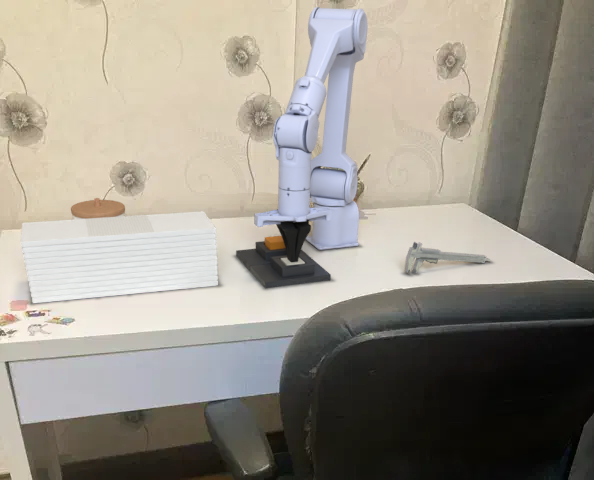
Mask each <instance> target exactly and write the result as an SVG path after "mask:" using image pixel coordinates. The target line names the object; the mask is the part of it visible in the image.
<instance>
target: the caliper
mask: <svg viewBox="0 0 594 480" xmlns="http://www.w3.org/2000/svg"><path fill="white" fill-rule="evenodd" d="M422 246H423V242H420V241H419V242H416V241H413V244H412V246H410V247H409V248H408V251H407V254H406V257H405V264H404V272H405V273H407V274H410V272H411V273H412V274H414V275H416V274H417V273H418V272H419V271H420V268H421V266H422V265H423V263H424V262H427V263H428V264H435V265H436V264H438V261H449V262H464V263H466V262H467V263H478V264H485V263H486V262H490V261H491V259H490V258H489V257H487V255H485V254H477V253H465V252H452V251H441V250H440V249H438V248H432V247H431V248H429V247H422Z"/></svg>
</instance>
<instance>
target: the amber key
mask: <svg viewBox="0 0 594 480" xmlns="http://www.w3.org/2000/svg"><path fill="white" fill-rule="evenodd" d="M264 241H265V246H266V247H267V248H268V249H269V250H273V249H283V248H285V244H284V241H283V238H282V236H281V235H275V236H265V237H264Z"/></svg>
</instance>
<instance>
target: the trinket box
mask: <svg viewBox="0 0 594 480" xmlns="http://www.w3.org/2000/svg"><path fill="white" fill-rule="evenodd" d="M70 213H71V215H72V220H73V219H89V218H105V217H121V216H126V206H125V204H124V203H123V202H120V201H117V200H111V199H100V198H99V197H95V198H93V199H90V200H84V201H81V202H77V203H75V204H73V205H71V207H70Z"/></svg>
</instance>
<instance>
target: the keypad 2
mask: <svg viewBox="0 0 594 480" xmlns="http://www.w3.org/2000/svg"><path fill="white" fill-rule="evenodd" d="M281 258H287V255H284V256H275V257H271V264H262V265H253V266H250V271H249V272H250V273H251V274H252V275H253V276H254V277H255V279H256V280H257V281H258V282H259V283H260V284H261V285H262V286H263V288H264V289H271V288H280V287H288V286H296V285H304V284H313V283H320V282H328V281H331V278H332V277H331V275H332V274H331V273H329V271H327V270H326V269H325V268H324V267H323V266H322V265H320V264H319V263H318V262H317V261H315V259H314V258H312V259H308V258H307V257H306V256H304V255H303V254H300V255H299V258H300V259H301V260H303V261H304V262H305V264H297V265H288V266H286V265H285V264H284V263H283V262H282V261H281Z"/></svg>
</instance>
